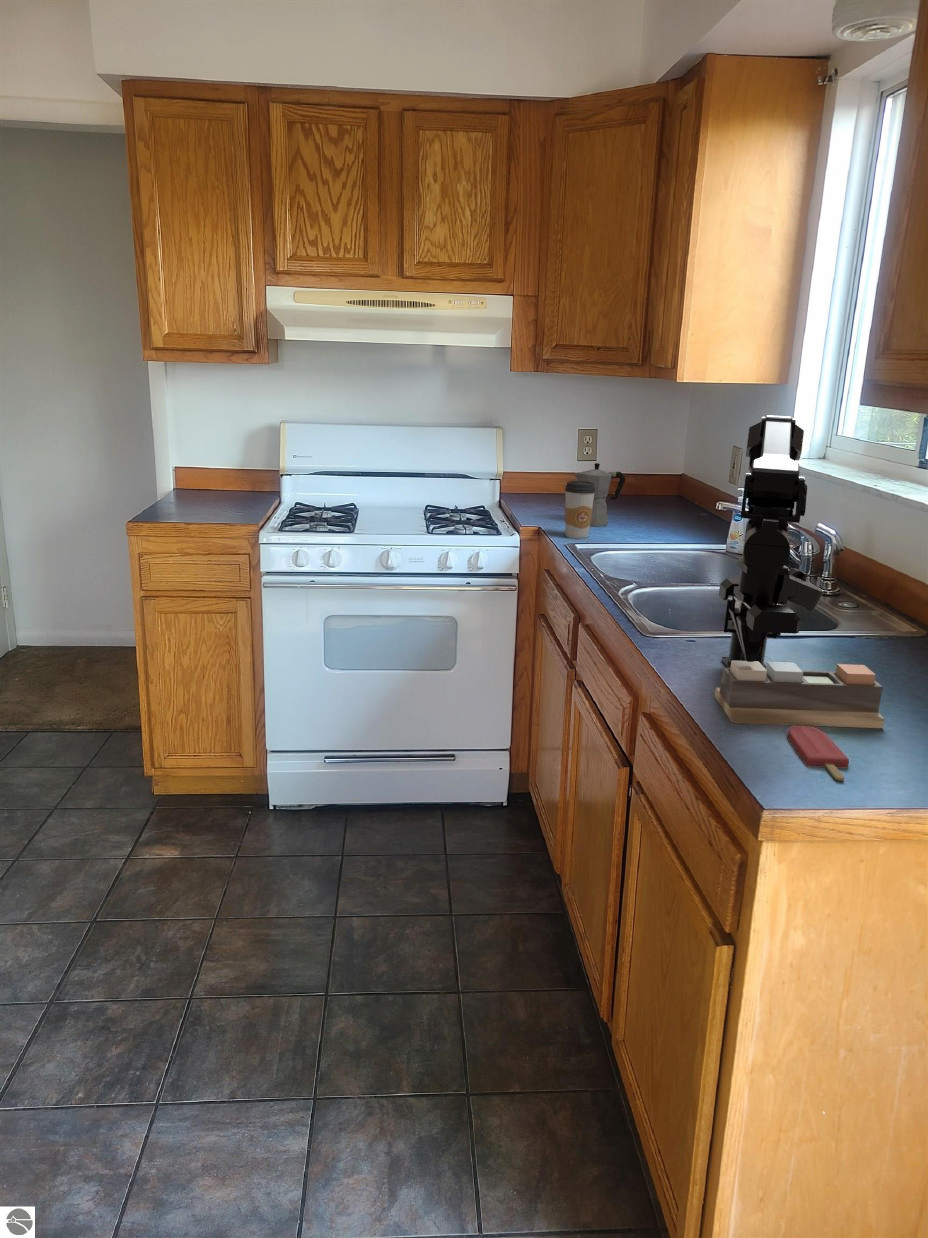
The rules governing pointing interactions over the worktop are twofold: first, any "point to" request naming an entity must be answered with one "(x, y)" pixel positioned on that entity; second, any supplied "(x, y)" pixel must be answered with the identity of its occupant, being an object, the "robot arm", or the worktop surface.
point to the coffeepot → (601, 492)
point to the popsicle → (817, 749)
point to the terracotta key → (855, 674)
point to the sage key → (817, 679)
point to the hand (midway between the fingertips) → (749, 661)
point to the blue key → (784, 672)
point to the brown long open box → (800, 702)
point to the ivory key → (748, 671)
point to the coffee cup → (578, 508)
